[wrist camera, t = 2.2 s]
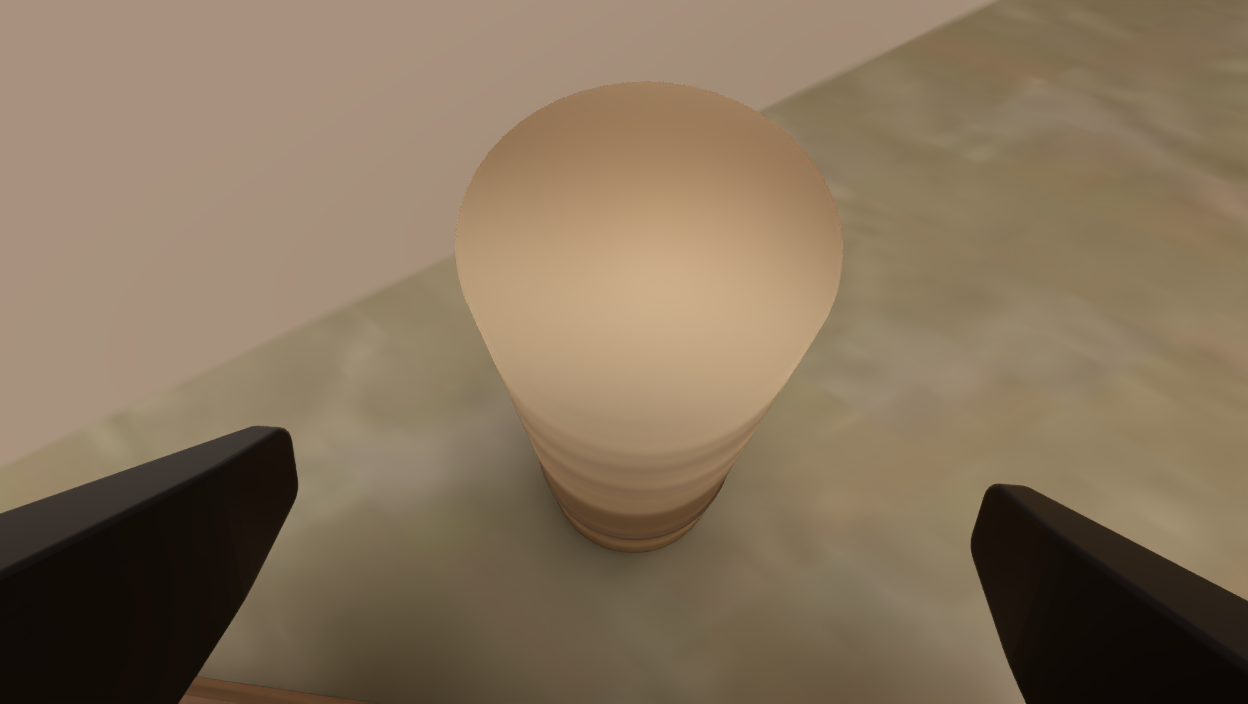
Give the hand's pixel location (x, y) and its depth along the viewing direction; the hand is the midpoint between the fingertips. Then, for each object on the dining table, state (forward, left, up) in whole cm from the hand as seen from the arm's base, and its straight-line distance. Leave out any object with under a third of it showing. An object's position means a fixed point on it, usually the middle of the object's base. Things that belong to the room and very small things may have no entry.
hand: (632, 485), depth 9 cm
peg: (+2, 0, -10) cm, 10 cm away
